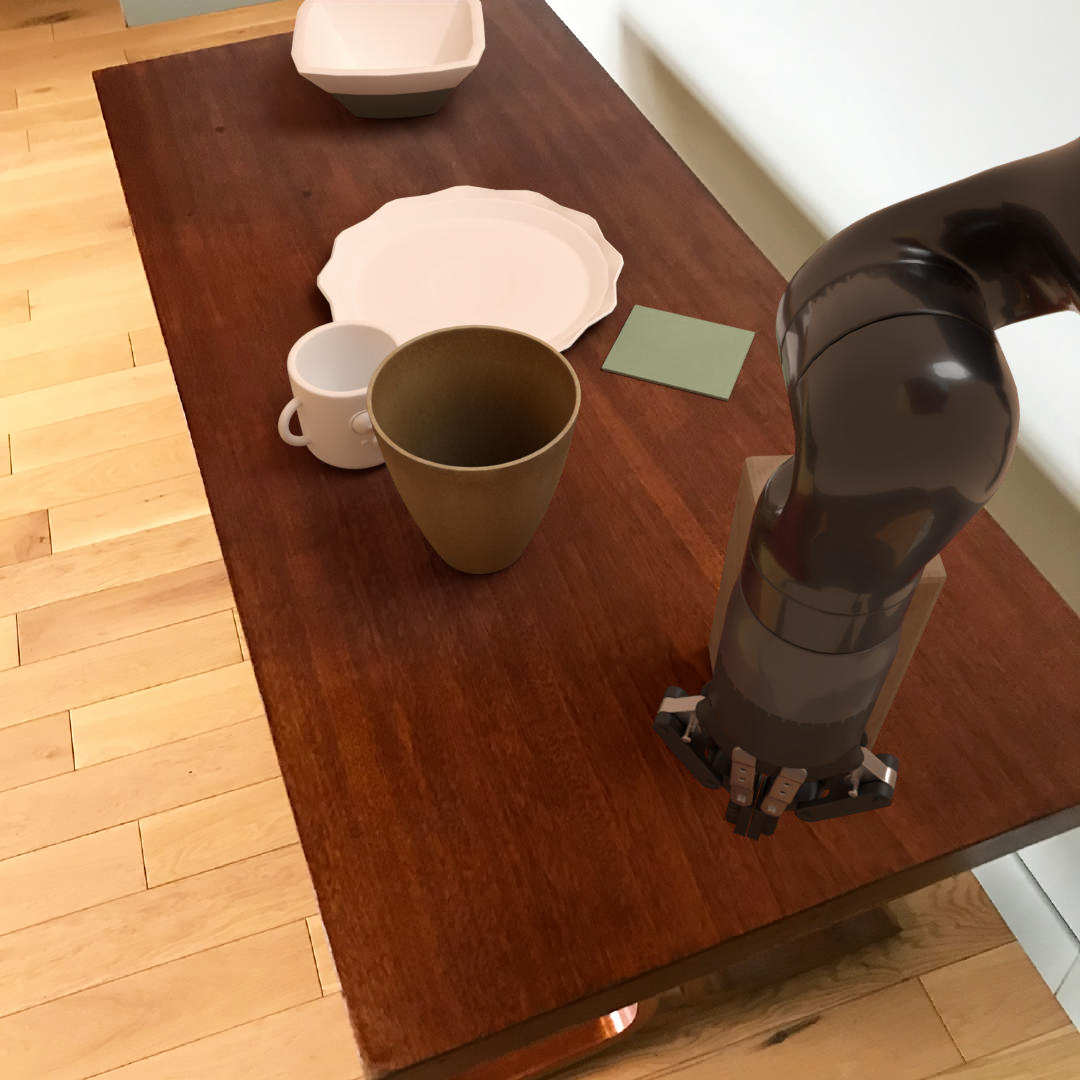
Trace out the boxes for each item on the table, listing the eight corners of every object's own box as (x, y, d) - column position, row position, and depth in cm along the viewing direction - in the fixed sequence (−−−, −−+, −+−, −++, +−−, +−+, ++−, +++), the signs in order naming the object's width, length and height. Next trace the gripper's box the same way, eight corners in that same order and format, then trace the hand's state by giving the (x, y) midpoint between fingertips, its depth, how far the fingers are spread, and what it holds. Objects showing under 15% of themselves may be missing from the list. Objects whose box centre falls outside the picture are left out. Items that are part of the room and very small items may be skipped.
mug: (324, 511, 92) (306, 431, 85) (261, 443, 97) (238, 363, 90) (442, 445, 97) (434, 365, 90) (376, 384, 102) (363, 303, 95)
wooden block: (725, 763, 76) (770, 582, 61) (706, 644, 83) (742, 453, 68) (871, 759, 76) (951, 576, 61) (840, 639, 83) (906, 448, 68)
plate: (366, 195, 122) (363, 175, 120) (633, 217, 119) (635, 197, 117) (286, 371, 103) (281, 351, 101) (602, 402, 100) (603, 382, 98)
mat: (754, 334, 106) (755, 332, 106) (727, 401, 100) (728, 398, 100) (634, 306, 109) (635, 304, 109) (601, 369, 103) (601, 367, 103)
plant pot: (376, 609, 85) (348, 462, 73) (405, 470, 95) (384, 319, 83) (571, 620, 84) (575, 473, 72) (580, 478, 94) (585, 327, 82)
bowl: (482, 48, 144) (479, -20, 138) (491, 140, 129) (488, 69, 123) (311, 55, 143) (299, -13, 137) (299, 149, 128) (286, 78, 122)
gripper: (639, 669, 50) (619, 841, 63) (940, 763, 47) (852, 924, 60) (686, 549, 54) (658, 733, 68) (963, 628, 51) (877, 805, 64)
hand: (750, 823), depth 64 cm, fingers closed
